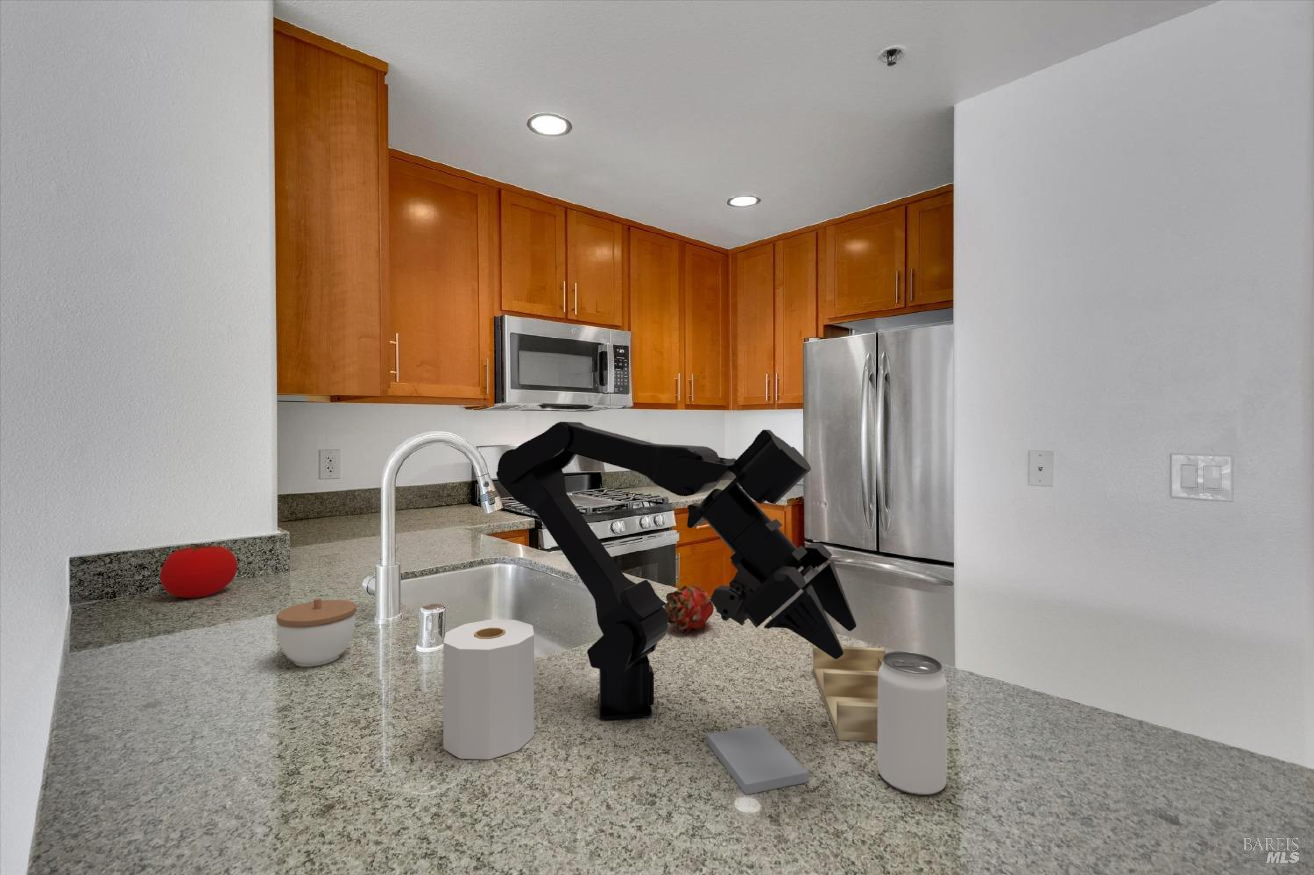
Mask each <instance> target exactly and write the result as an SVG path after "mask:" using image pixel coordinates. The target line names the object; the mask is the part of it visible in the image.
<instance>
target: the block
mask: <svg viewBox="0 0 1314 875" xmlns="http://www.w3.org/2000/svg"><path fill="white" fill-rule="evenodd" d="M706 744H707V745H708V746H709V748H710V750H712V752H713V753H714V754H715V756H716V757H717V759H719V761H720V762H721V764H722V765H723V767H725V769H726V770H727V771H728V773H729V775H731V777H732V778H733V780H734V782H736V783H737V785H738V787H739V788H740V789H741V791H742V792H743V793H744V794H745V795H746V796H747V795H751V794H756V793H761V792H766V791H770V790H775V789H776V790H777V789H781V788H786V787H791V786H796V785H800V784H806V783H809V782H810V777H809V775H810V774H809V771H808V769H806V768H805V767H804V766H803V765H802V764H801V762H799V761H798V759H797V758H795V757H794V755H793V754H792V753H791V752H789V750H787V749H786V747H785V746H784V745H782V743H781V742H780V741H778V739H777V738H776V737H775V736H773V734H772V733H771V732H770V731H769V730H767V728H766V727H765V726H764V725H763V724H758V725H753V726H745V727H739V728H734V729H729V730H722V731H715V732H711V733H706Z"/></svg>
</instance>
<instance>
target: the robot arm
mask: <svg viewBox="0 0 1314 875" xmlns="http://www.w3.org/2000/svg"><path fill="white" fill-rule="evenodd" d="M576 456H581V457H584V458H588V459H591V460H594V461H598V462H602V463H605V464H607V465H612V466H615V467H619V468H623V469H625V470H629V471H633V472H635V473H639V474H640V475H642V476H644V477H646V478H647V479H648V480H649V481H651V482H652V483H653V484H654V485H656V486H658V487H660V488H663V489H664V490H666V491H668V492H670V493H671V494H674V495H676V496H679V497H689V496H690V497H691V496H694V495H698V494H702V493H706V492H709V491H710V493H708V494H707V495H706V497H704V499H702V501H701V502H700V503H697V502H694V503H691V504H688V505H687V511H688V515H687V520H686V521H687V522H686V526H687V528H688V529H693V528H695V527H698V526H700V525H703V524H704V522H706V523H707V525H708V526H709V527H710V528H711V529H712V530H713V531H714V532H715V533H716V534H717V535H718V537H719V538H720V539H721V540H722V542H724V543H725V545H726V546H727V547H728V548H729V549H730V551H732V553H733V554H732V555H731V556H730V559H731V560H730V562H731V564H732V565H733V566H734V568H735V570H737V571H736V573H735V575H734V576H733V579H731V580H729V583H728V584H729V585H719V586H717V587H716V588H715V589H714V590H713V592H712V595H711V597H710V601H711V602H712V604H713V606H714V608H715V609H716V613H718V614H719V615H720V617H721V618H720V619H722V620H723V621H724V622H725V621H729V620H730V619H731V620H733V621H734V622H735V623H737V624H739V625H741V626H744V625H745V624H746V621H747V620H749V621H750V622H751V624H752V625H753V626H754V627H755V628H756V629H757V628H758V627H760V626H761V625H762V624H763V623H765V621H766V620H768V619H769V618H770V617H771V618H770V619H769V620H768V621H767V622H766V623H765V624H764V625H763V629H767V630H770V629H771V628H773V629H774V628H776V629H788V630H790V631H791V632H793V633H794V634H796V635H797V636H800V637H801V638H803V639H804V640H806V641H808V642H809V643H810V644H811V645H812V646H813V645H815V646H816V647H818V648H819V649H821V650H822V651H824V652H825V653H827V654H828V655H830V656H831V657H833V658H834V659H838V658H840V657H841V656H842V655H843V654H844V651H843V649H842V647H841V646H842V645H841V643H840V640H839V638H838V636H837V634H836V632H835V630H834V628H833V625H832V623H831V622H830V619H829V618H828V615H829V616H830V617H831V618H832V619H833V620H834V621H836V622H837V623H838V624H839V625H840V626H841V627H843V628H844V629H846V630H847V631H848V632H852V631H853V630H855V628H857V622H856V620H855V619H856V618H855V617H854V614H853V612H852V609H851V607H850V604H849V602H848V599H847V596H846V593H845V591H844V589H843V588H844V587H843V585H842V583H841V580H840V577H839V575H838V572H837V569H836V566H835V564H836V563H835V561H834V560H833V559H831V561H830V562H828V564H826V565H825V566H823V564H825V563H826V562H827V561H829V559H830V558H832V556H833V553H832V552H830V551H829V550H828V548H827V547H826V546H825V545H824V544H823V543H821V542H820V543H818V542H811V543H809V544H808V545H807V546H805V548H804V547H803V546H802V545H800V546H799V547H797V546H796V545H795V544H794V543H793V542H792V541H791V540H790V539H789V538H788V536H786V534H785V533H784V532H783V531H782V530H781V529H780V528H781V527H782V526H783V524H782V523H781V522H780V521H779V520H778V519H777V518H775V519H771V518H770V517H769V516H768V515H767V514H766V513H765V511H763V510H762V508H760V507H759V505H758V504H760V505H763V504H764V503H765V502H768V503H769V504H772V505H777V503H778V502H780V500H782V498H784V497H785V495H786V494H788V493H789V492H790V491H791V490H792V489H793V488H794V487H795V486H796V485H797V484H798V483H799V482H800V481H801V480H803V478H804V477H805V476H807V475H808V473H810V471H811V470H812V468H811V465H810V463H809V462H808V461H807V459H806V458H805V457H804V456H803V455H802V453H801V452H799V450H798V449H797V448H795V446H791V445H790V444H788V443H787V442H786V441H785V440H783V439H782V438H781V437H779V436H777V435H776V434H774V432H773V431H772V430H771V429H762V430H761V431H760V432H759V433H758V434H757V435H756V437H755V438H754V440H753V442H751V444H750V445H749V446H748V447H747V448H746V449H745V450H744V451H743V452H742V454H741V455H740V456H738V457H737V458H735V457H733V458H727V457H720V456H719V455H718V453H717V451H715V450H714V449H713V448H710V447H708V446H703V445H688V444H687V445H686V444H685V445H684V444H667V443H666V444H662V443H653V442H650V441H646V440H642V439H638V438H635V437H630V436H626V435H624V434H623V435H622V434H619V433H616V432H612V431H608V430H604V429H600V428H596V427H592V426H589V425H586V424H584V423H582V422H580V421H558V422H556V423H554V424H553V425H552V426H549V428H548V429H546V430H545V431H544V432H542V433H540V434H539V435H536V436H534V437H533V438H531V439H529V440H527V441H524V442H522V443H521V444H519V445H518V446H517V447H516V448H511V449H508V450H506V451H504V453H502V455H501V456H500V458H499V459H498V463H497V471H495V473H496V477H497V478H496V479H497V480H498V483H499V484H500V485H501V487H502V488H503V489H504V490H505V491H506V492H507V493H508V495H510V497H511V498H513V500H514V501H516V502H518V503H519V504H521V506H522V505H523V506H525V507H526V508H528V509H529V510H531V511H533V512H534V513H535V514H536V516H537V517H538V518H539V520H540V521H541V523H542V524H543V526H544V527H545V529H546V530H547V532H548V533H549V534H550V536H551V538H552V539H553V540H554V542H555V543H556V545H557V546H558V548H559V549H560V550H561V552H562V554H563V555H564V557H565V558H566V559H567V561H568V562H569V564H570V565H571V567H572V568H573V570H574V571H575V573H576V574H577V576H578V577H579V579H580V580H581V582H582V583H583V584H584V586H585V587H586V589H587V590H588V592H589V593H590V595H591V596H592V599H593V600H594V604H595V611H596V620H597V624H598V627H599V629H600V632H601V633H602V636H600V638H598V639H597V640H596V641H595V642H594V643H593V644H592V645H591V646H590V647H589V648H588V649H587V650H586V653H587V657H588V661H589V664H590V667H591V668H593V669H596V670H598V671H599V673H598V686H599V687H598V691H599V692H598V693H597V704H598V706H597V707H598V718H599V719H600V720H604V721H605V720H618V719H633V718H634V719H636V718H649V717H652V716H653V712H652V708H651V706H653V705H654V704H655V674H654V670H653V667H652V665H651V664H650V659H649V656H648V655H650V654H651V653H653V652H655V651H656V648H657V645H658V643H659V642H660V641H662V639H664V638H665V636H666V635H667V631H668V630H669V629H668V628H669V623H668V621H669V618H668V615H667V613H666V611H665V608H664V606H665V605H666V603H667V602H666V601H664V600H663V599H661V598H660V597H659V596H658V594H657V593H656V591H655V589H654V587H653V586H652V583H650V581H649V580H648V579H643V580H642V581H639V582H637V583H636V582H634V581H632V580H631V579H629V578H628V577H627V576H625V574H624V573H623V572H622V570H621V569H620V567H619V566H618V565H617V562H615V560H614V559H613V558H612V556H611V554H610V553H609V552H608V550H607V548H606V547H605V546H604V545H603V543H602V541H601V540H600V539H599V538H598V536H597V535H596V533H595V532H594V530H593V529H592V527H591V526H590V524H588V522H587V520H586V519H585V518H584V516H583V515H582V514H581V512H580V510H579V509H578V508H577V507H576V505H575V504H574V502H573V501H572V499H571V498H570V497H569V494H568V493H567V490H566V489H567V488H566V478H565V474H564V471H563V469H565V468H566V467H568V466H569V465H570V464H571V463H572V461H574V458H575V457H576ZM731 479H732V480H731ZM725 480H731V481H730V483H729V484H727V486H725V487H724V489H721V488H716V487H717V485H719V483H720V482H721V481H725ZM711 490H712V491H711ZM757 503H758V504H757ZM827 614H828V615H827Z"/></svg>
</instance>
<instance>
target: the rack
mask: <svg viewBox="0 0 1314 875" xmlns="http://www.w3.org/2000/svg"><path fill="white" fill-rule="evenodd" d="M841 647H842V649H843V651H844V654H843V655H842V656H841V657H840V658H838V659H834V658H833V657H831V656H830V655H828V654H827V653H825V652H824V651H822V650H821V649H819V648H818V647H816V646H815V645H813V644H812V674H813V676H814V679H815V682H816V685H817V687H818V690H819V692H820V695H821V698H822V700H823V703H824V706H825V708H826V711H827V713H828V717H829V719H830V721H831V724H832V728H833V729H834V731H835V735H836V737H837V740H839V741H852V742H853V741H855V742H869V743H878V671H879V668H880V667H881V665H882V663H883V659H882V657H883V655H885V654H886V650H885V648H884V647H868V646H867V647H863V646H842V645H841Z"/></svg>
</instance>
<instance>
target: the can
mask: <svg viewBox="0 0 1314 875" xmlns="http://www.w3.org/2000/svg"><path fill="white" fill-rule="evenodd" d="M882 659H883V663H882V665H881V667H880V668H879V671H878V742H877V771H878V773H879V775H880V776H881V777H882V779H883V780H884V781H885V783H887V784H888V785H889V786H891V787H893V788H894V789H895V790H898V791H900V792H903V793H905V792H906V794H909V793H910V794H909V795H913V794H915V795H914V796H921V795H922V796H923V795H925V796H926V795H927V796H933V795H937V794H938V793H940V792H941V791H942V790H943V789H944V788H945V787H946V784H947V778H948V775H947V774H948V773H947V771H948V770H947V769H948V764H947V763H948V762H947V761H948V760H947V759H948V758H947V757H948V756H947V755H948V751H947V750H948V748H947V747H948V744H947V742H948V690H947V689H948V686H947V684H948V683H947V679H946V676H945V675H944V672H943V671H942V669H943V665H942V663H941V662H940V661H939V660H938V659H936V658H934V657H932V656H929V655H926V654H923V653H919V652H914V651H903V650H899V651H897V650H896V651H890V652H887V653H886V652H885V655H883V657H882ZM925 796H923V797H925Z"/></svg>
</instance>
